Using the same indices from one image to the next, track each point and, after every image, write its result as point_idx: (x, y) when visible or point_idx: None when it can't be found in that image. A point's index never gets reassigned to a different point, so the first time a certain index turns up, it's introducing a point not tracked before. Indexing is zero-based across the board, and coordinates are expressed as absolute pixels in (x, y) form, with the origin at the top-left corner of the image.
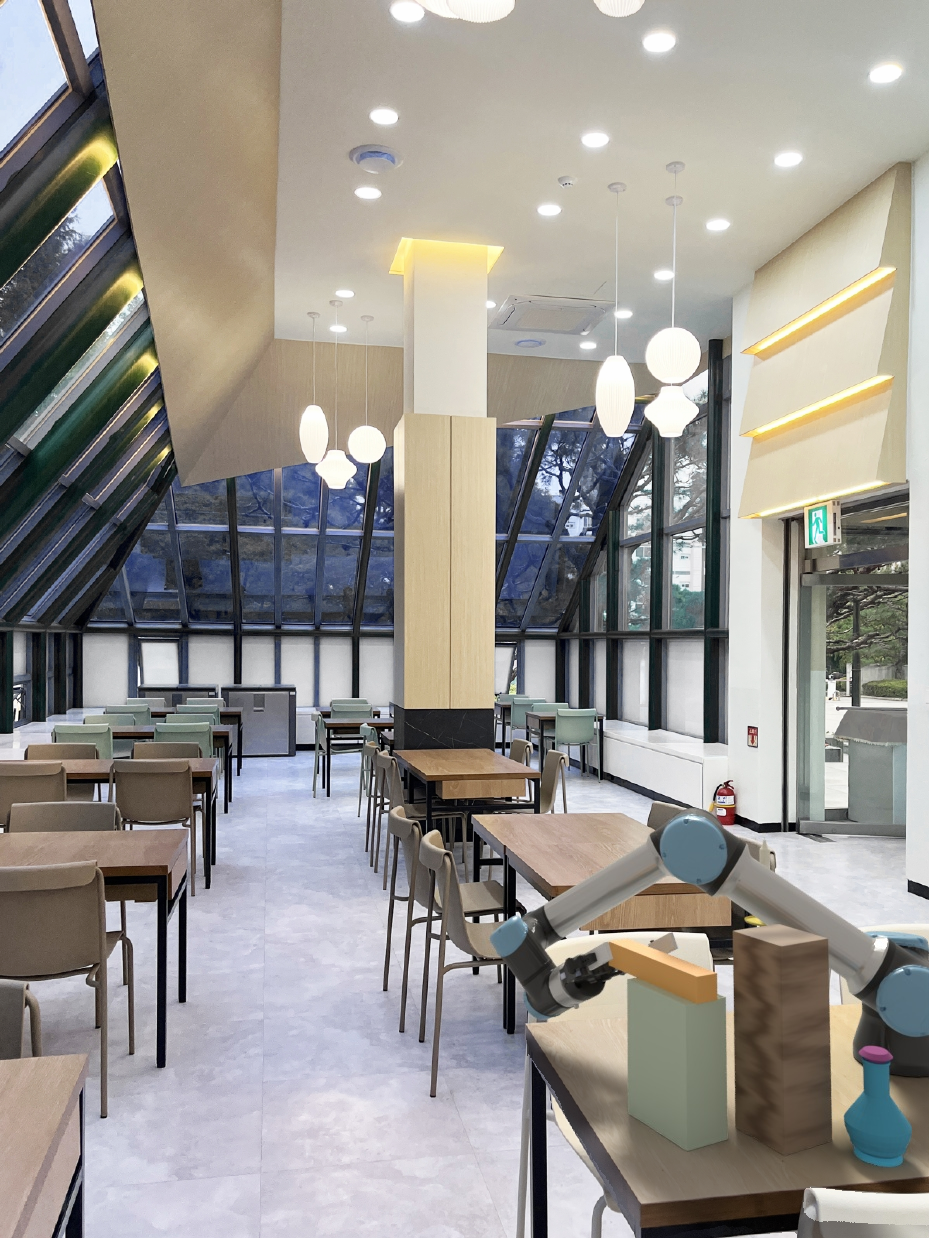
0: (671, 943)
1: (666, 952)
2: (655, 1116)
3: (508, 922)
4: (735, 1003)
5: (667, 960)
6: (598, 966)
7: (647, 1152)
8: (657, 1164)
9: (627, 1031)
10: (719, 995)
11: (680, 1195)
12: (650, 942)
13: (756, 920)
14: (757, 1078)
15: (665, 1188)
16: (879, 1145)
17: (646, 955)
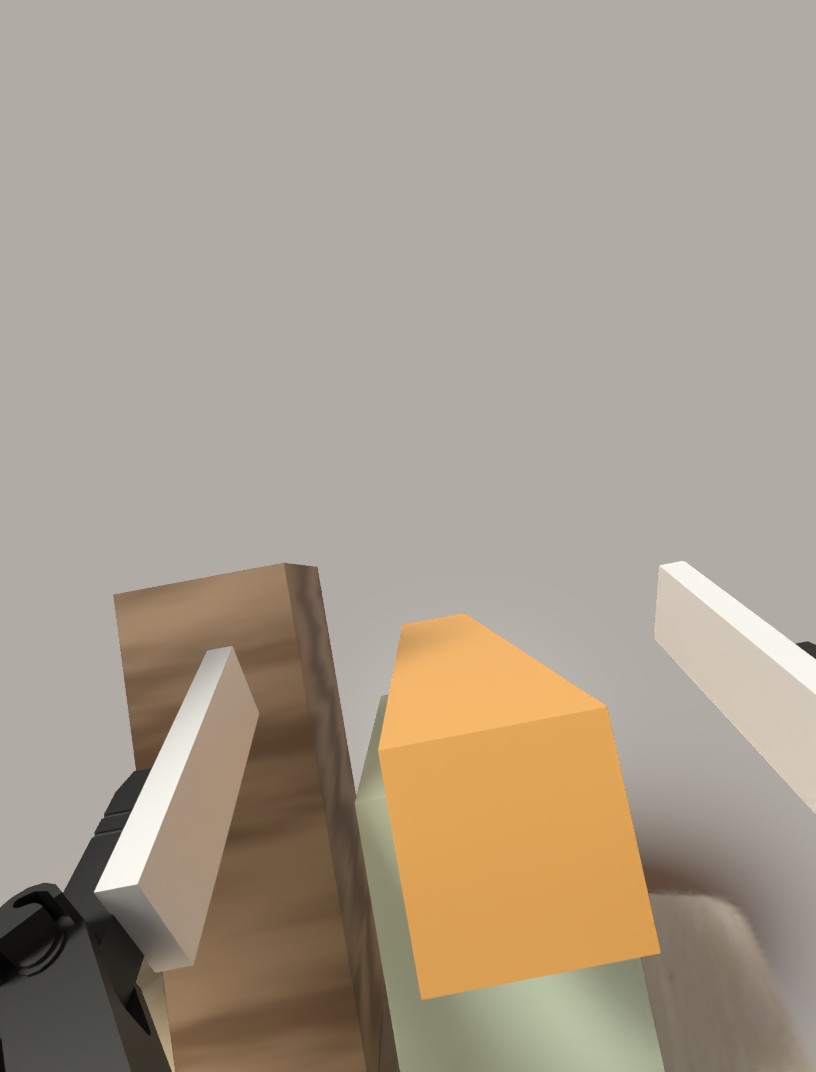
0: (246, 698)
1: (241, 777)
2: None
3: None
4: (316, 756)
5: (451, 633)
6: (764, 754)
7: (698, 1060)
8: (679, 999)
9: (655, 1029)
10: (384, 700)
11: (654, 902)
12: (66, 906)
13: None
14: (356, 885)
15: (679, 922)
16: None
17: (492, 639)
